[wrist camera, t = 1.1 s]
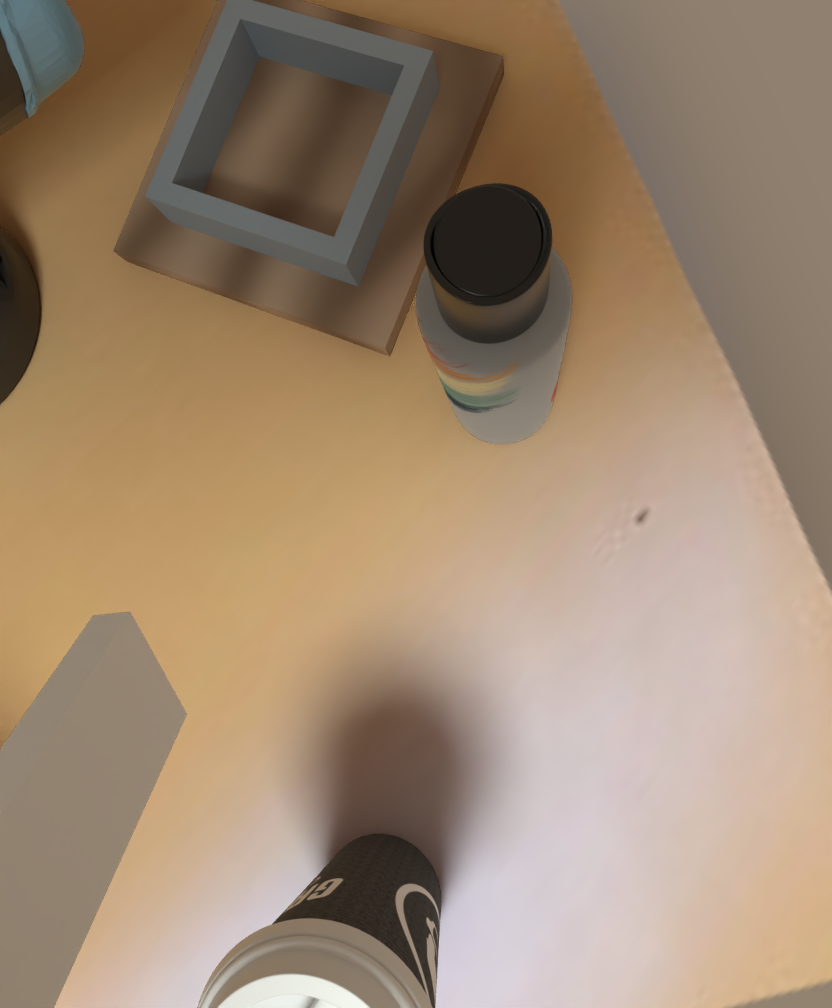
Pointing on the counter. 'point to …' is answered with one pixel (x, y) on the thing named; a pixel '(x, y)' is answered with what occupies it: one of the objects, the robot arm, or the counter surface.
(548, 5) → the counter surface
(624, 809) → the counter surface
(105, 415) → the counter surface
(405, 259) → the stand board
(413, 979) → the coffee cup
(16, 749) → the robot arm
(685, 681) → the counter surface
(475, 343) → the lotion bottle
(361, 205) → the bottle collar
